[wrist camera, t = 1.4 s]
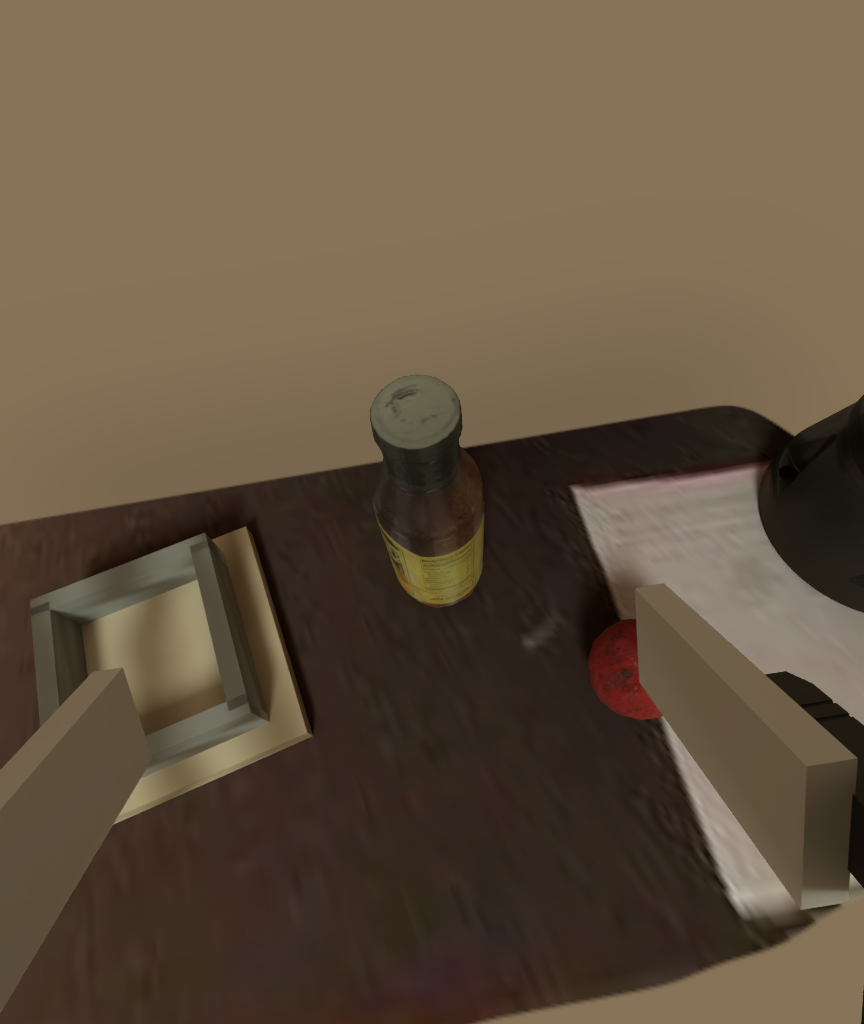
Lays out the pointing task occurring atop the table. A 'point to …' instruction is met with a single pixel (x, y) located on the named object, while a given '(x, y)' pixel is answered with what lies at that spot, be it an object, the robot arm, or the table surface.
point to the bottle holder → (179, 659)
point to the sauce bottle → (427, 491)
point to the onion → (620, 672)
